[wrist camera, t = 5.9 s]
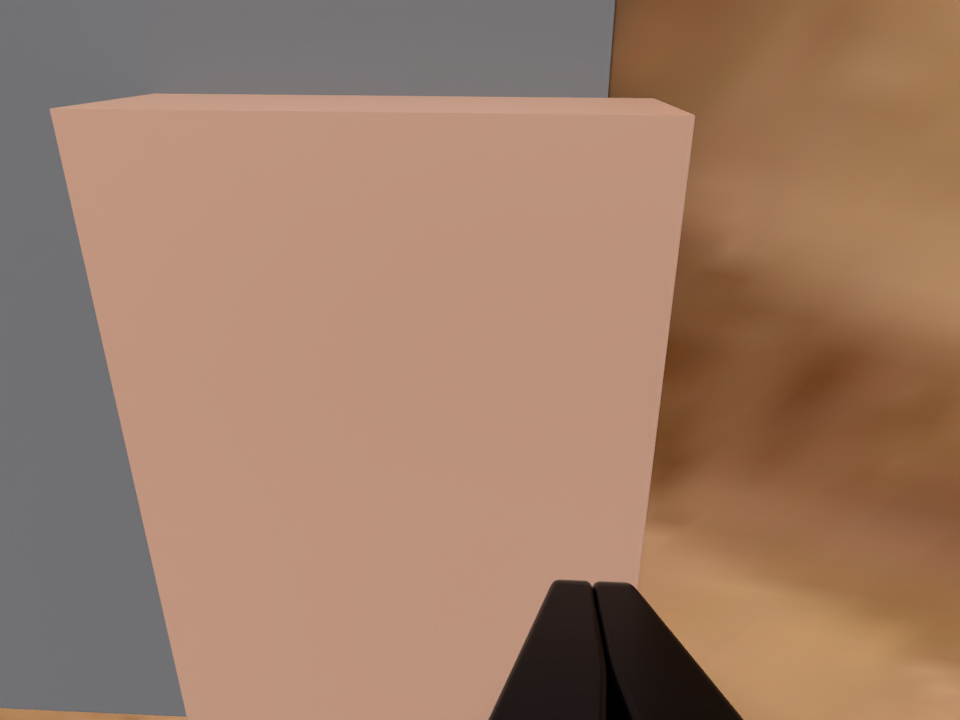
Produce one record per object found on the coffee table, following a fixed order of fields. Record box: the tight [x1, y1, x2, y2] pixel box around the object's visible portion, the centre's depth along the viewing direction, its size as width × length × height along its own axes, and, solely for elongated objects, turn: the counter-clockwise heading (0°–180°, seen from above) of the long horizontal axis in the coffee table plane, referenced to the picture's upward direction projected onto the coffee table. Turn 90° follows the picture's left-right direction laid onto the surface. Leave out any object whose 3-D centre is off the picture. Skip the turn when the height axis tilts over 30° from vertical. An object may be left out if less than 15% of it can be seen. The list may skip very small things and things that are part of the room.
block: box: [50, 93, 695, 720], centre depth 11 cm, size 2×10×7 cm
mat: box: [0, 0, 615, 717], centre depth 12 cm, size 12×15×1 cm
